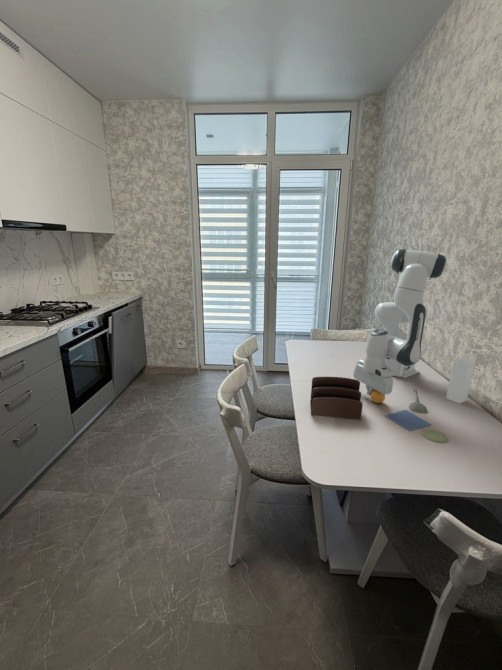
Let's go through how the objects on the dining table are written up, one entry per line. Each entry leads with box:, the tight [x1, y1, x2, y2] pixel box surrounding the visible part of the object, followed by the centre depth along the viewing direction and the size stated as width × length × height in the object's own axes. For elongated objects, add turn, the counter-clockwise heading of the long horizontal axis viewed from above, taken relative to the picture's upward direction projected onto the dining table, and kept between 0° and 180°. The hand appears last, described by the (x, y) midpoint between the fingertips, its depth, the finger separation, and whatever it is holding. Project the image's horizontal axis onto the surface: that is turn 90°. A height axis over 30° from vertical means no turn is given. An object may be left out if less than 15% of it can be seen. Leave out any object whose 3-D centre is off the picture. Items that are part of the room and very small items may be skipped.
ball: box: [370, 390, 386, 404], centre depth 137 cm, size 6×6×6 cm
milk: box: [445, 352, 476, 404], centre depth 138 cm, size 6×6×22 cm
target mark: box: [384, 409, 433, 432], centre depth 124 cm, size 12×12×1 cm
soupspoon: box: [409, 389, 428, 415], centre depth 139 cm, size 22×3×7 cm
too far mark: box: [422, 429, 449, 444], centre depth 113 cm, size 8×8×1 cm
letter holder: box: [309, 376, 364, 421], centre depth 128 cm, size 10×20×14 cm, turn 81°
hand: (369, 394), depth 140 cm, fingers closed
